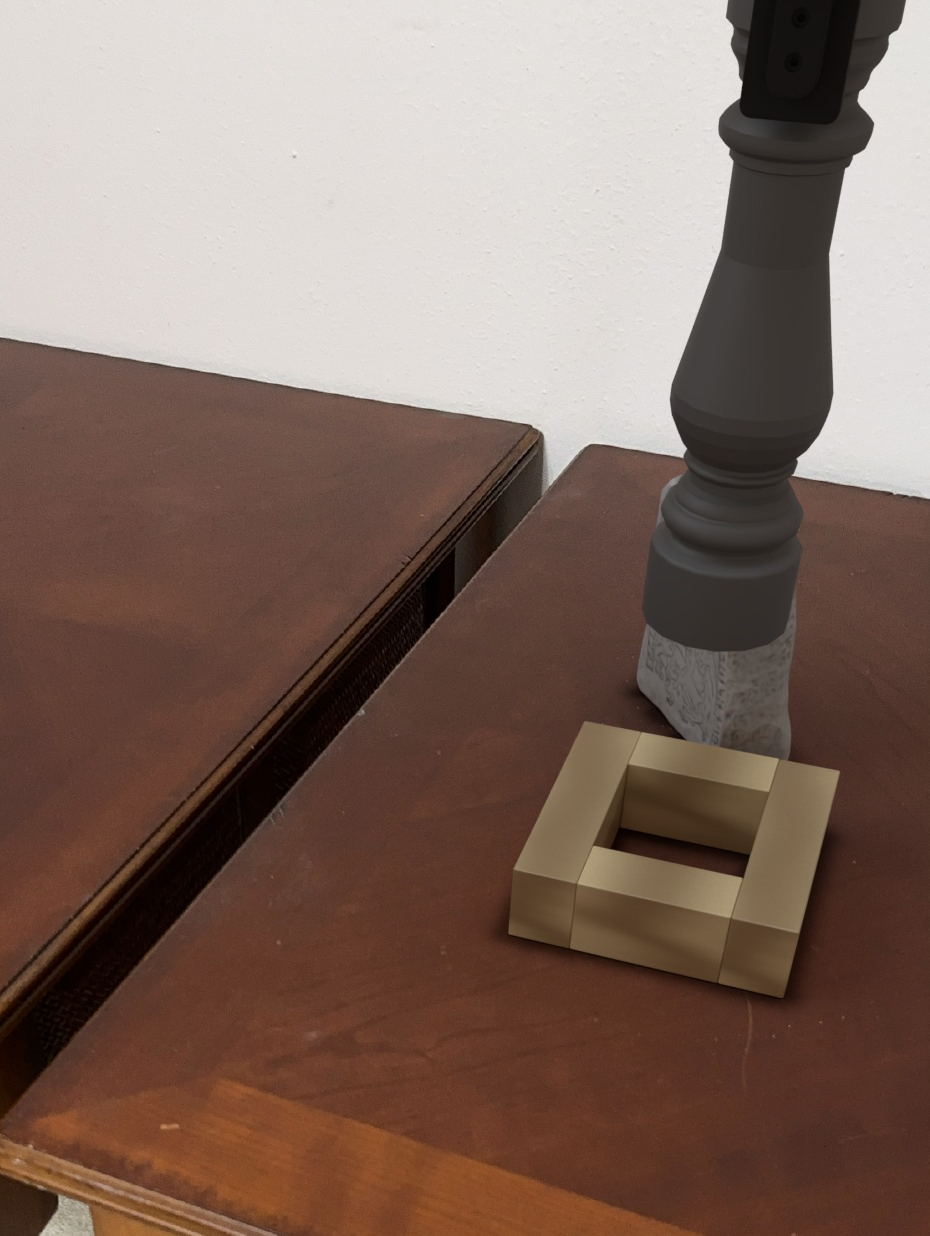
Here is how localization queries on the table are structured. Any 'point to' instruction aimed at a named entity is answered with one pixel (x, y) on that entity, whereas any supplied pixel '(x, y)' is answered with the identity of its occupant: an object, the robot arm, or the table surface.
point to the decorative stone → (722, 688)
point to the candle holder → (757, 367)
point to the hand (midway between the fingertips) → (804, 88)
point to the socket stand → (668, 892)
